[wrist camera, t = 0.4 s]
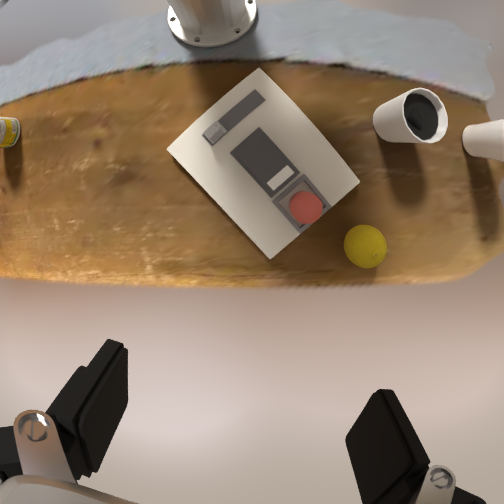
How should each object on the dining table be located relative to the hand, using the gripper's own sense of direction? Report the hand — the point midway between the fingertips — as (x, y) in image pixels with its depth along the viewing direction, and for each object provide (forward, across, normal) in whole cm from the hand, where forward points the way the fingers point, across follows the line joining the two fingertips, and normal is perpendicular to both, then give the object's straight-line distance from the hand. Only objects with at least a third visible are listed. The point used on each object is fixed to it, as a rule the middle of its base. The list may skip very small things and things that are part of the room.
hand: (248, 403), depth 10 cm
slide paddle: (+30, +7, -11) cm, 33 cm away
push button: (+29, -5, -5) cm, 30 cm away
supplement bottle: (+33, +45, -8) cm, 56 cm away
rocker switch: (+28, 0, -9) cm, 29 cm away
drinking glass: (+33, -32, -23) cm, 51 cm away
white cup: (+33, -16, -20) cm, 41 cm away
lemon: (+33, -15, -2) cm, 36 cm away
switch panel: (+33, 0, -9) cm, 34 cm away
